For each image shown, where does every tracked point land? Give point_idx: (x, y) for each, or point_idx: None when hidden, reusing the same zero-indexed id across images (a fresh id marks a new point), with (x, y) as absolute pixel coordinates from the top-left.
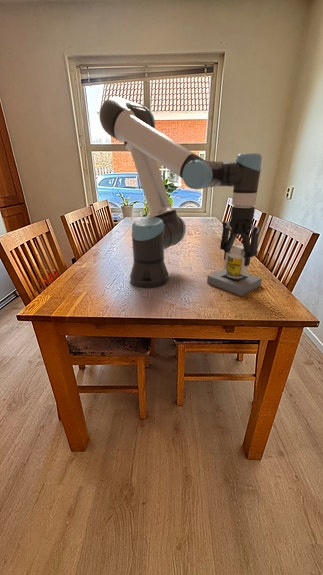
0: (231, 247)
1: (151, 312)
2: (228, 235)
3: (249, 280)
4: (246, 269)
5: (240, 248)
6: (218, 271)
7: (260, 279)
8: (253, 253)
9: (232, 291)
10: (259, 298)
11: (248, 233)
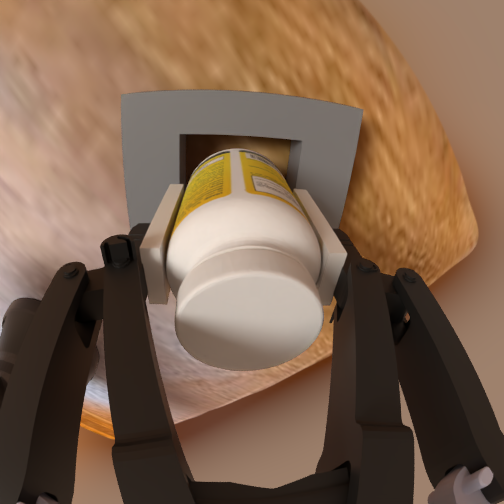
0: (195, 355)
1: (199, 405)
2: (46, 389)
3: (323, 181)
4: (312, 201)
5: (290, 344)
6: (126, 191)
7: (359, 125)
8: (406, 327)
9: None
10: (375, 224)
11: (398, 468)
